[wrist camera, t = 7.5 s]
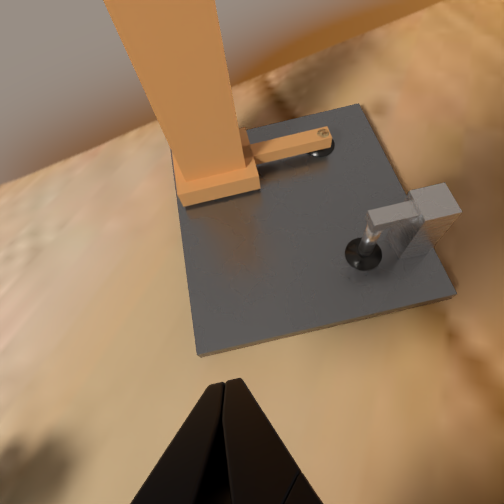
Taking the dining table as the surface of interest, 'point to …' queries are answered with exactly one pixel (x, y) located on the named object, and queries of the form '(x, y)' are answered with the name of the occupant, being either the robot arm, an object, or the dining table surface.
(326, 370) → the dining table surface
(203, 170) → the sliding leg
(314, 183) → the plate
